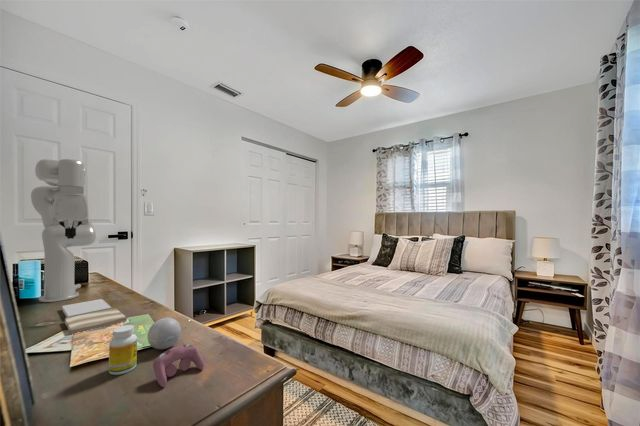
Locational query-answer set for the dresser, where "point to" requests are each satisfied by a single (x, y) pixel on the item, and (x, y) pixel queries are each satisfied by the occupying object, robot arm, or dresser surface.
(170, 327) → the bath bomb
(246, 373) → the dresser surface
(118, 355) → the supplement bottle
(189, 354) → the video game controller
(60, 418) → the dresser surface
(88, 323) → the birch board
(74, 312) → the grey plank
